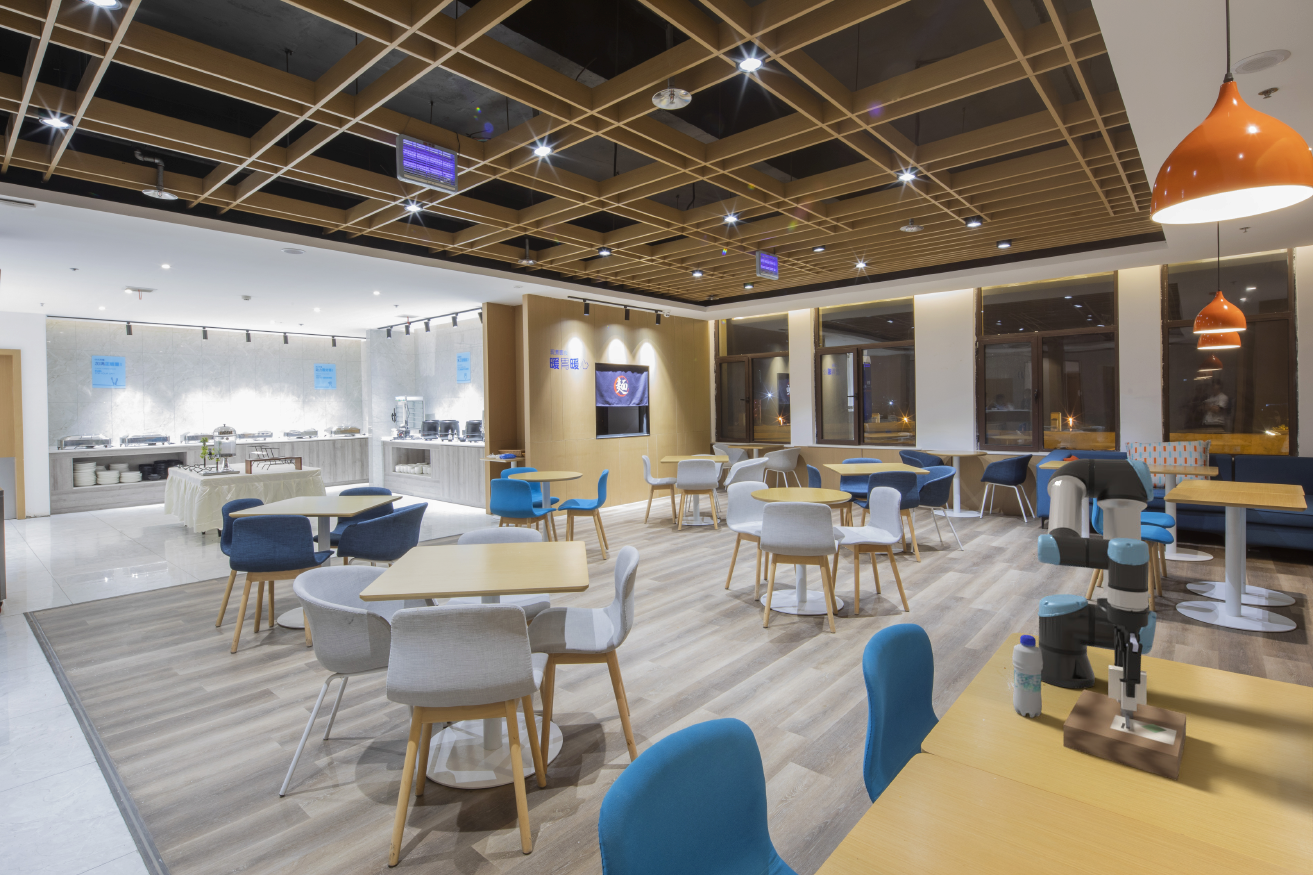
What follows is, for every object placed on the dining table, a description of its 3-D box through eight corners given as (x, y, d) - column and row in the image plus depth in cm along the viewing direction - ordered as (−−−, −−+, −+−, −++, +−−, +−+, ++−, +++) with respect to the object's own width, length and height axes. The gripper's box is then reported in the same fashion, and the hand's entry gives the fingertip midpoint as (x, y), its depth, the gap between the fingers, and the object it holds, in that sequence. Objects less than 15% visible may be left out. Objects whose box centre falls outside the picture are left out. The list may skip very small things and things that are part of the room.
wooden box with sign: (1063, 745, 142) (1063, 724, 142) (1083, 708, 159) (1083, 689, 159) (1177, 780, 128) (1177, 756, 128) (1185, 735, 146) (1186, 713, 145)
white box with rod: (1108, 725, 141) (1108, 678, 140) (1108, 709, 148) (1108, 664, 148) (1147, 733, 137) (1148, 685, 136) (1145, 717, 144) (1146, 671, 144)
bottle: (1034, 707, 161) (1034, 630, 160) (1048, 719, 154) (1048, 640, 153) (1007, 706, 161) (1007, 630, 160) (1019, 719, 155) (1020, 639, 154)
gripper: (1159, 618, 135) (1158, 724, 136) (1137, 598, 150) (1135, 693, 151) (1117, 615, 138) (1116, 718, 139) (1099, 595, 153) (1098, 688, 154)
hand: (1126, 705), depth 145 cm, fingers closed on white box with rod, 3 cm apart
